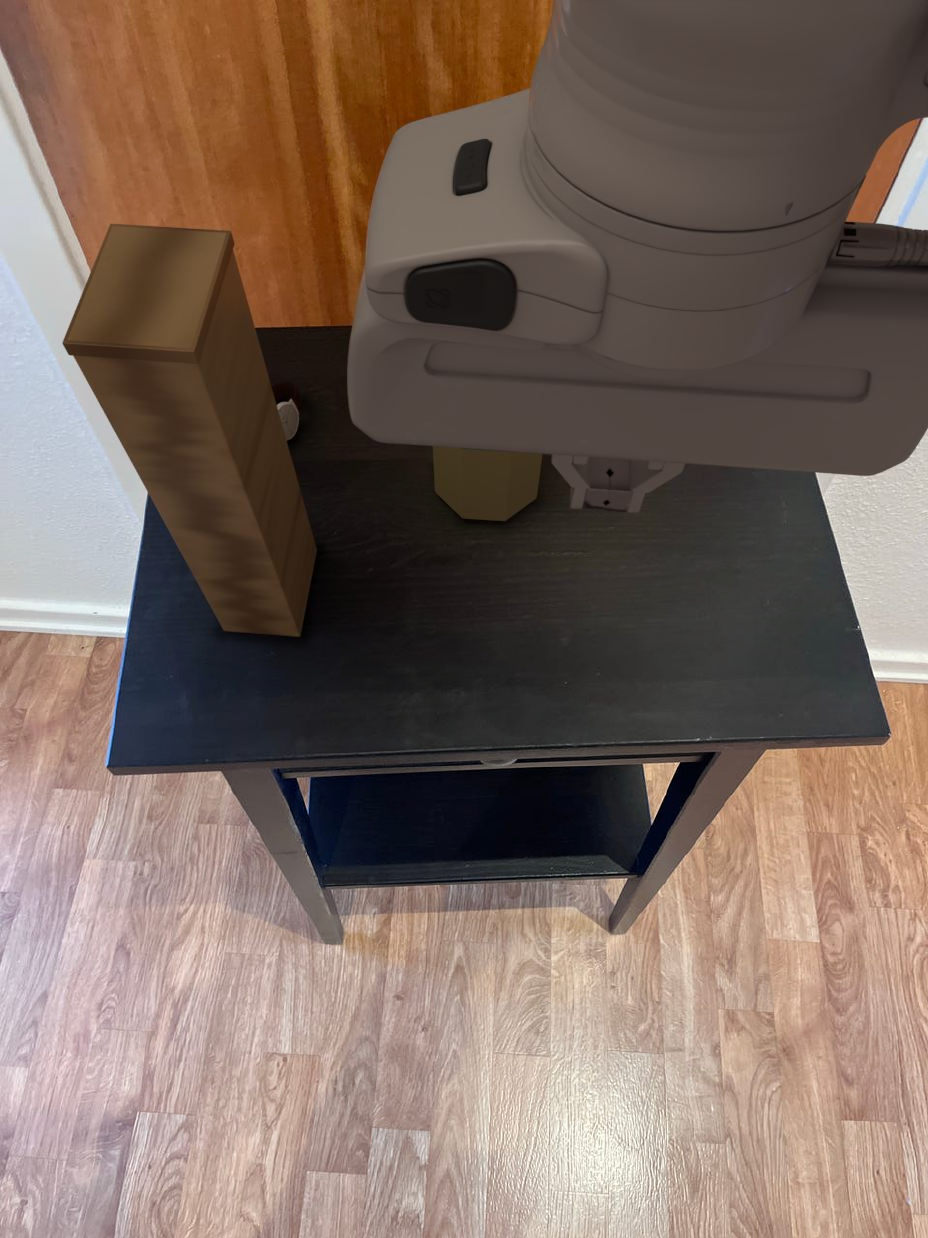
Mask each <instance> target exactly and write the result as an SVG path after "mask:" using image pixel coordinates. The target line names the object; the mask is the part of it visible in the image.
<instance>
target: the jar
mask: <svg viewBox="0 0 928 1238" xmlns="http://www.w3.org/2000/svg"><path fill="white" fill-rule="evenodd" d="M432 457H433V458H432V460H433V480H434V481H433V483H434V493H435V494H437V495H438V497H440V498H441V500H442V501H444V502H445V504H447V505H448V506H449V507H450V508H451V509H452V511H454V512H455V513H456V514H457V515H458V516H459V517H460V518H461V519H467V520H481V521H483V520H484V521H497V522H498V521H500V522H506V521H508V520H509V519H510V518H511V517H513V516H514V515H516V514H517V513H518V512H520V511H521V510H522V509H524V508H525V507H527V506H528V505H529V504H531V503H532V502H533V501H535V500H537V497H538V490H539V484H540V476H541V469H542V461H543V454H540V453H526V452H512V451H497V450H483V449H468V448H454V447H439V446H432Z"/></svg>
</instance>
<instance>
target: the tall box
mask: <svg viewBox="0 0 928 1238" xmlns="http://www.w3.org/2000/svg"><path fill="white" fill-rule="evenodd" d="M234 248H235V240H234V238H233V234H232V231H231V230H223V229H221V230H220V229H204V228H189V227H188V228H187V227H176V226H175V227H173V226H172V227H171V226H158V225H157V226H156V225H155V226H154V225H140V224H139V225H138V224H124V223H122V224H121V223H110V224H109V225H108V228H107V231H106V233H105V236H104V238H103V240H102V243H101V246H100V248H99V251H98V253H97V255H96V258H95V261H94V263H93V266H92V268H91V270H90V273H89V275H88V278H87V280H86V283H85V285H84V288H83V290H82V293H81V294H80V297H79V300H78V302H77V306H76V308H75V310H74V312H73V315H72V318H71V320H70V323H69V325H68V328H67V330H66V332H65V335H64V337H63V339H62V345H63V348H64V350H65V351H66V353H67V355H68V356H71V357H72V356H73V358H74V360H75V362H76V364H77V365H78V368H79V369H80V371H81V373H82V375H83V376H84V378H85V380H86V382H87V384H88V386H89V387H90V389H91V391H92V393H93V395H94V397H95V398H96V400H97V402H98V404H99V406H100V407H101V409H102V411H103V413H104V415H105V417H106V418H107V420H108V422H109V424H110V426H111V427H112V430H113V432H114V433H115V435H116V437H117V439H118V440H119V442H120V444H121V446H122V448H123V449H124V451H125V453H126V455H127V457H128V459H129V460H130V462H131V464H132V466H133V467H134V470H135V471H136V473H137V475H138V477H139V479H140V481H141V482H142V484H143V486H144V488H145V490H146V492H147V493H148V495H149V497H150V499H151V501H152V502H153V504H154V506H155V508H156V510H157V512H158V514H159V515H160V517H161V519H162V521H163V523H164V524H165V526H166V529H167V530H168V532H169V533H170V535H171V537H172V539H173V541H174V543H175V544H176V546H177V548H178V550H179V552H180V554H181V555H182V557H183V559H184V561H185V563H186V564H187V566H188V568H189V570H190V572H191V573H192V576H193V577H194V579H195V581H196V583H197V584H198V586H199V589H200V590H201V592H202V594H203V595H204V597H205V599H206V601H207V603H208V605H209V607H210V608H211V610H212V612H213V614H214V616H215V618H216V619H217V621H218V623H219V625H220V626H221V628H222V630H223V632H231V633H245V634H256V635H257V634H258V635H259V634H260V635H271V636H283V637H298V638H300V637H301V636H302V631H303V630H302V629H303V626H304V619H305V615H306V609H307V604H308V599H309V594H310V588H311V583H312V578H313V572H314V568H315V564H316V563H315V562H316V557H317V553H318V548H317V545H316V541H315V539H314V538H315V537H314V535H313V530H312V527H311V523H310V520H309V517H308V512H307V509H306V506H305V502H304V498H303V495H302V492H301V488H300V484H299V480H298V476H297V473H296V470H295V466H294V463H293V460H292V456H291V451H290V449H289V444H288V440H287V441H286V437H285V433H284V430H283V426H282V423H281V419H280V416H279V412H278V408H277V405H278V404H277V401H275V398H274V394H273V390H272V387H271V386H272V384H271V380H270V377H269V373H268V370H267V366H266V362H265V359H264V355H263V351H262V348H261V344H260V341H259V337H258V333H257V330H256V327H255V322H254V320H253V316H252V312H251V308H250V305H249V302H248V298H247V295H246V291H245V287H244V284H243V280H242V276H241V272H240V269H239V266H238V261H237V258H236V255H235V252H234Z"/></svg>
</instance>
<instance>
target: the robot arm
mask: <svg viewBox="0 0 928 1238" xmlns="http://www.w3.org/2000/svg"><path fill="white" fill-rule="evenodd" d="M551 1H552V3H551V14H550V19H549V25H548V29H547V32H546V35H545V39H544V42H543V44H542V46H541V48H540V51H539V55H538V57H537V60H536V63H535V67H534V70H533V74H532V77H531V81H530V87H528V88H525V89H523V90H521V91H517V92H515V93H511V94H508V95H505V96H501V97H498V98H494V99H492V100H488V101H484V102H480V103H477V104H474V105H471V106H467V107H463V108H459V109H455V110H452V111H448V112H443V113H440V114H436V115H432V116H427V117H424V118H421V119H417V120H415V121H411V122H409V123H407V124H405V125H403V126H401V127H400V128H399V129H397V130H396V131H395V133H394V134H393V136H392V137H391V141H390V143H389V145H388V148H387V150H386V153H385V156H384V159H383V161H382V164H381V167H380V170H379V173H378V177H377V180H376V184H375V187H374V191H373V195H372V198H371V199H372V200H371V204H370V209H369V215H368V221H367V230H366V239H365V240H366V241H365V257H364V265H363V270H362V274H361V277H360V278H361V279H360V283H359V287H358V292H357V297H356V303H355V308H354V314H353V319H352V326H351V331H350V336H349V337H350V338H349V344H348V352H347V365H346V366H347V367H346V381H347V382H346V389H347V402H348V411H349V415H350V420H351V422H352V424H353V425H354V426H355V427H356V428H358V430H360V431H361V432H362V433H363V434H365V435H366V436H367V437H368V438H370V439H372V440H373V441H375V442H377V443H382V444H393V445H411V446H413V445H414V446H425V447H433V446H439V447H454V448H468V449H483V450H497V451H512V452H526V453H540V454H542V455H551V464H552V466H553V467H554V468H555V469H556V470H557V472H558V473H559V474H560V475H561V477H562V478H563V479H564V480H565V481H566V483H567V484H568V485H569V486H570V491H569V494H570V495H569V508H570V510H572V509H573V510H592V511H593V510H595V511H606V512H616V513H617V512H618V513H628V514H639V513H640V511H641V508H642V505H643V502H644V498H645V496H646V494H650V493H651V492H652V491H655V490H656V489H657V488H659V487H660V486H662V485H664V484H666V483H667V482H669V481H670V480H672V479H673V478H676V477H677V476H678V475H680V474H682V473H683V471H684V468H685V466H686V465H688V464H689V465H699V466H700V465H701V466H716V467H717V466H718V467H730V468H744V469H745V468H746V469H759V470H760V469H761V470H773V471H789V472H801V473H816V474H817V473H818V474H832V475H844V476H857V477H859V476H860V477H871V476H876V475H878V474H880V473H883V472H885V471H887V470H890V469H892V468H894V467H896V466H898V465H900V464H903V463H904V462H906V461H907V460H908V459H909V458H910V457H911V456H912V454H913V453H914V452H915V450H916V448H917V447H918V445H919V444H920V442H921V441H922V439H923V437H924V436H925V434H926V432H927V430H928V229H918V228H910V227H903V226H899V225H894V224H887V223H879V222H878V223H877V222H862V221H847V219H848V217H849V215H850V213H851V210H852V208H853V206H854V204H855V201H856V199H857V197H858V195H859V193H860V190H861V189H862V187H863V185H864V182H865V180H866V177H867V174H868V172H869V171H870V168H871V167H872V164H873V162H874V160H875V158H876V157H877V153H878V152H879V150H880V149H881V147H882V146H883V144H884V143H885V142H886V140H888V138H889V137H890V136H891V135H892V134H893V133H895V132H896V131H897V130H898V129H900V128H901V127H902V126H904V125H906V124H908V123H911V122H913V121H915V120H919V119H925V118H928V0H551Z"/></svg>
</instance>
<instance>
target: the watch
mask: <svg viewBox="0 0 928 1238" xmlns="http://www.w3.org/2000/svg"><path fill="white" fill-rule="evenodd" d="M271 387H272V390H273V394H274V398H275V401H276V402H277V401H279V400H281V399H283V398H286V397H291V398H290V399H289V400H288V401H281V402H279V403H278V404H276V405H277V408H278V412H279V416H280V419H281V423H282V426H283V430H284V433H285V437H286V441H287V442H288V441H289V440H291V439H292V438H293V437H294V436H295V435H296V433H297V431H298V427H299V421H300V417H299V416H300V411H301V409H302V407H303V399H302V396H301V393H300V391H299V388H298V386H297V384H296V383H295V382H294V381H291V380H285V381H279V382H276V383H274V384H271Z"/></svg>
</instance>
